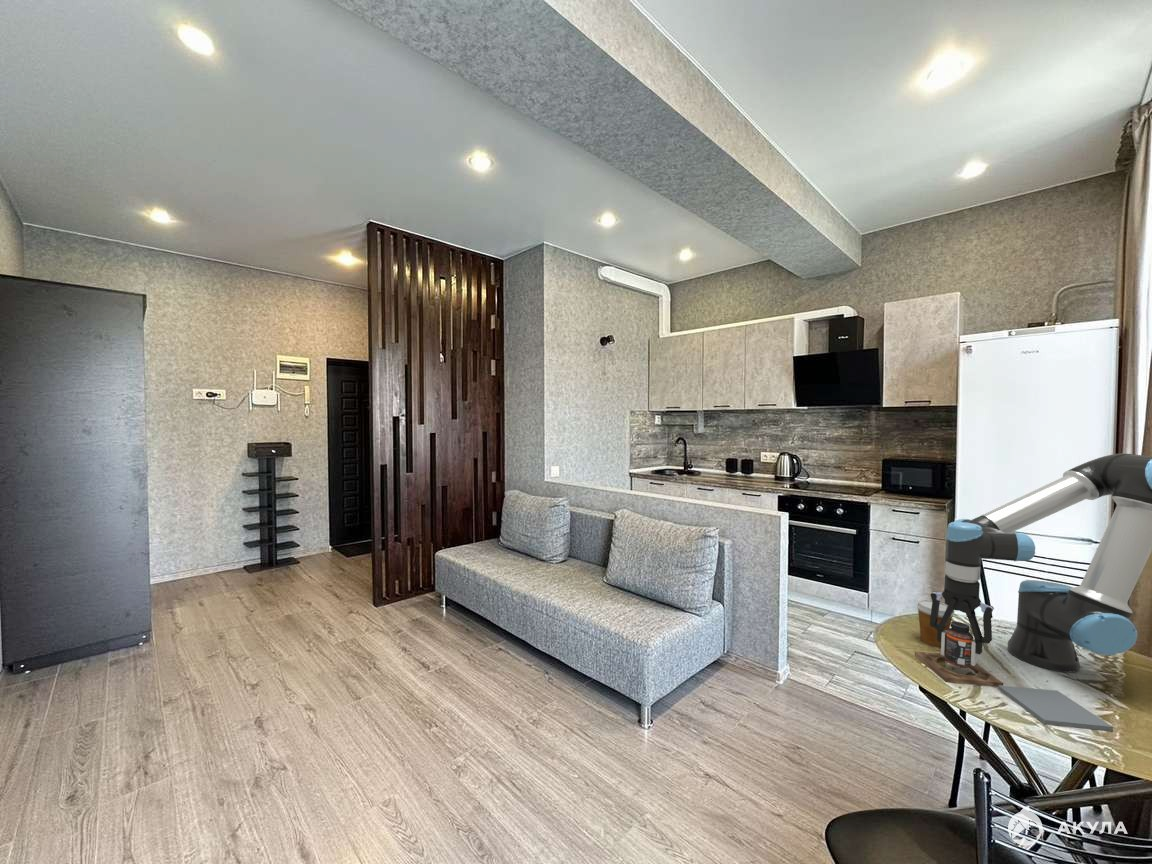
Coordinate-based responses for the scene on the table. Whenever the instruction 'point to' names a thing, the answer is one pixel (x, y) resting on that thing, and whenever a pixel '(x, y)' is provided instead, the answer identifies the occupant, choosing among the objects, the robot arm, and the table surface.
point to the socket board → (950, 676)
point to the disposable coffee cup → (926, 630)
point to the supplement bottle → (958, 645)
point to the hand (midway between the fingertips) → (958, 658)
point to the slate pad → (1054, 708)
